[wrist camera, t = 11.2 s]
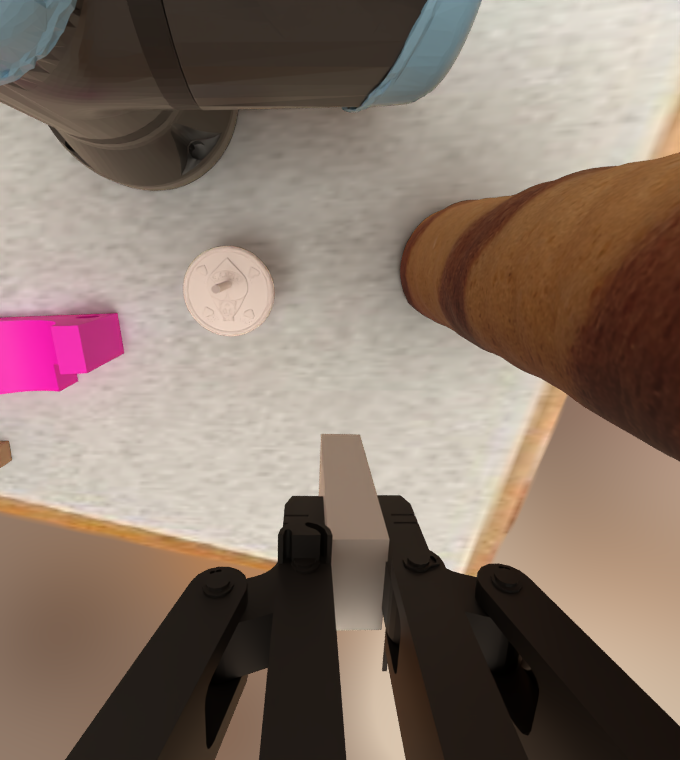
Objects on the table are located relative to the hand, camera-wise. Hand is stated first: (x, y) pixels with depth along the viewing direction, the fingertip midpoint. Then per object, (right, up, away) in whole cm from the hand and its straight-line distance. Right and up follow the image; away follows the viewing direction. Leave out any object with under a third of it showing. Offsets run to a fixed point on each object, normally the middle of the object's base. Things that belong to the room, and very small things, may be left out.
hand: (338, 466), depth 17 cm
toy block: (-28, +6, +24) cm, 37 cm away
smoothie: (-9, +12, +24) cm, 28 cm away
